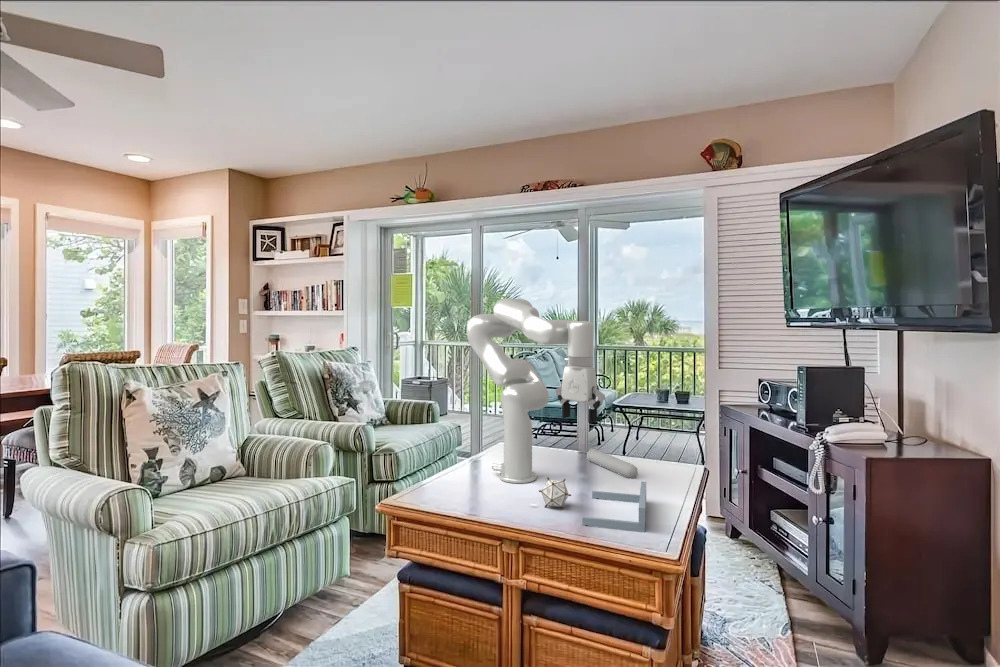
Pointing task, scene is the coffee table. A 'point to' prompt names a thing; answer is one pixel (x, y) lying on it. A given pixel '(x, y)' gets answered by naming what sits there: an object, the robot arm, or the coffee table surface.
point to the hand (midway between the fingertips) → (579, 419)
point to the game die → (555, 493)
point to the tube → (612, 463)
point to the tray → (620, 523)
